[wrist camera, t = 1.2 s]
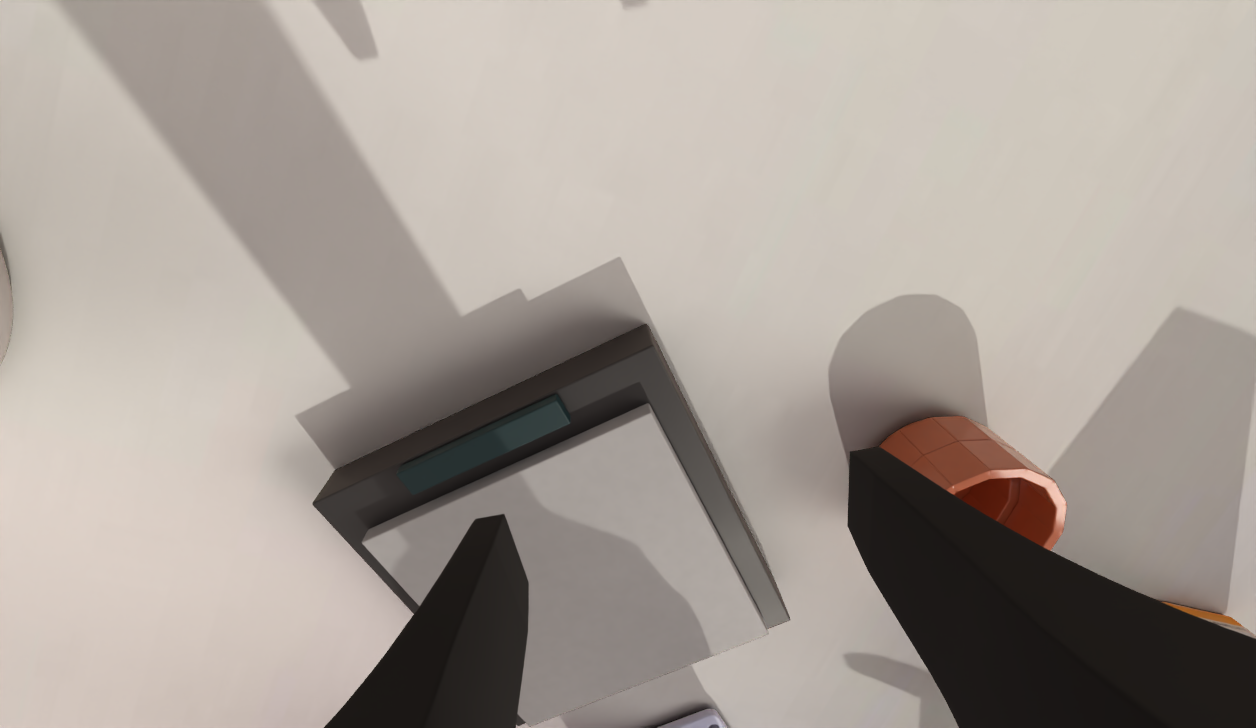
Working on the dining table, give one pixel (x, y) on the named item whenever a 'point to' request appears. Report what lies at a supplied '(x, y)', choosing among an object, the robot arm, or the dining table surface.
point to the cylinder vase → (5, 308)
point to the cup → (983, 474)
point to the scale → (574, 522)
